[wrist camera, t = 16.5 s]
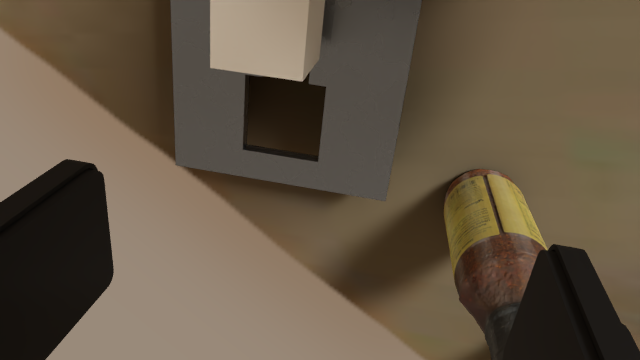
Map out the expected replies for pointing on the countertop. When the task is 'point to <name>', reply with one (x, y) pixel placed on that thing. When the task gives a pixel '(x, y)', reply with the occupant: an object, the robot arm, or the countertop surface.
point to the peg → (266, 36)
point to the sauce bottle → (490, 250)
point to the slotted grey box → (330, 71)
